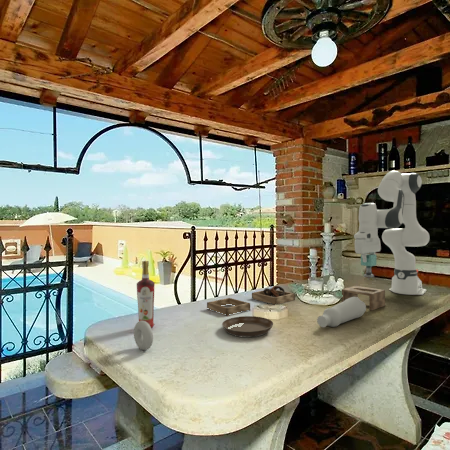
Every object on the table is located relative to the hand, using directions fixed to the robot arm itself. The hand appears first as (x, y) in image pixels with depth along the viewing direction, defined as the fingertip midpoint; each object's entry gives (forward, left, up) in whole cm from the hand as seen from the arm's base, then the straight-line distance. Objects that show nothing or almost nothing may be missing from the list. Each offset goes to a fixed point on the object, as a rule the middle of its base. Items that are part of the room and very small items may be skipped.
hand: (368, 261), depth 165 cm
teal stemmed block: (0, 0, -8) cm, 8 cm away
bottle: (+35, +5, -23) cm, 42 cm away
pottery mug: (+23, -44, -23) cm, 55 cm away
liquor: (+102, -44, -23) cm, 114 cm away
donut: (+113, -23, -23) cm, 118 cm away
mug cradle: (+25, -43, -23) cm, 55 cm away
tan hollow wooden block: (0, -3, -23) cm, 23 cm away
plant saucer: (+72, -14, -23) cm, 77 cm away
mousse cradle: (+58, -43, -23) cm, 76 cm away
